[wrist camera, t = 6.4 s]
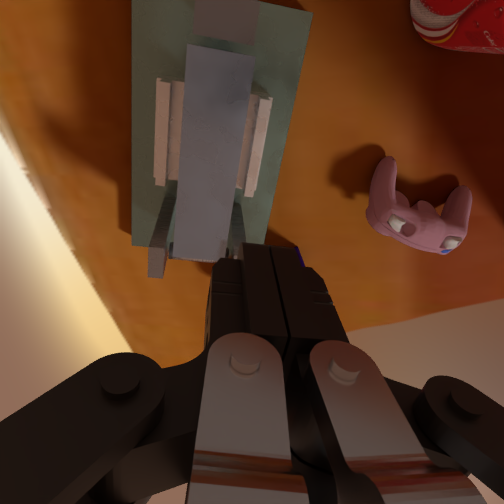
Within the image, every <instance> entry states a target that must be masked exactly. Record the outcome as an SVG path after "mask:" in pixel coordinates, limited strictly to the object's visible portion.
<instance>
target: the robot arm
mask: <svg viewBox="0 0 504 504" xmlns="http://www.w3.org/2000/svg"><path fill="white" fill-rule="evenodd" d="M204 337H205V338H204V351H203V352H202V353H201V354H200V355H199V356H197V357H196V358H195V359H193V360H191V361H189V362H187V363H184V364H181V365H177V366H172V367H167V368H163V369H161V367H160V366H159V365H158V364H157V363H156V362H155V361H154V360H152V359H151V358H149V357H147V356H144V355H141V354H137V353H130V352H124V353H115V354H111V355H107V356H105V357H102V358H100V359H98V360H96V361H94V362H93V363H91V364H89V365H88V366H86V367H85V368H83V369H82V370H80V371H79V372H77V373H76V374H74V375H72V376H71V377H69V378H68V379H66V380H65V381H63V382H61V383H60V384H58V385H57V386H55V387H54V388H52V389H51V390H49V391H47V392H46V393H44V394H43V395H41V396H40V397H38V398H37V399H35V400H34V401H32V402H30V403H29V404H27V405H26V406H24V407H23V408H21V409H20V410H18V411H17V412H15V413H13V414H12V415H10V416H9V417H7V418H5V419H4V420H2V421H1V422H0V504H146V503H147V502H148V501H149V499H150V498H151V496H152V495H154V494H157V493H160V492H162V491H165V490H168V489H171V488H174V487H176V486H179V485H182V484H185V483H188V484H187V491H186V498H185V504H487V503H486V501H485V499H484V498H483V497H482V495H481V493H480V492H479V491H478V489H477V487H476V486H475V485H474V484H473V483H472V481H471V480H470V479H469V478H467V477H468V476H469V475H470V474H471V473H472V474H473V475H474V476H475V477H476V478H478V479H479V480H480V481H481V482H483V483H484V484H485V485H486V486H487V487H489V488H490V489H491V490H492V491H493V492H495V493H496V494H497V495H498V496H500V497H501V498H502V499H503V500H504V407H502V406H501V405H499V404H498V403H497V402H495V401H494V400H492V399H491V398H489V397H488V396H486V395H485V394H483V393H482V392H480V391H479V390H477V389H476V388H474V387H473V386H471V385H470V384H468V383H466V382H464V381H462V380H459V379H457V378H453V377H449V376H434V377H432V378H430V379H429V380H428V381H427V382H426V384H425V385H424V387H423V389H422V390H421V389H418V388H415V387H412V386H409V385H406V384H403V383H400V382H397V381H394V380H391V379H388V378H386V377H384V376H382V374H381V372H380V371H379V369H378V367H377V366H376V364H375V362H374V361H373V360H372V359H371V357H370V356H368V355H367V354H366V353H365V352H364V351H362V350H361V349H359V348H358V347H356V346H353V345H351V344H350V343H349V340H348V338H347V336H346V333H345V331H344V328H343V326H342V323H341V321H340V319H339V316H338V314H337V311H336V309H335V306H333V302H332V299H331V297H330V295H328V290H327V287H326V285H325V282H324V280H323V279H322V278H321V277H320V276H319V275H318V274H317V273H316V272H315V271H314V270H313V269H312V268H311V267H302V266H301V263H300V260H299V257H298V254H297V251H296V249H295V248H290V247H282V246H273V245H264V244H256V243H248V242H241V243H240V246H239V251H238V256H237V259H230V258H222V257H221V258H220V259H219V260H218V261H217V262H216V264H215V265H214V266H213V267H212V274H211V280H210V287H209V294H208V301H207V308H206V319H205V336H204Z"/></svg>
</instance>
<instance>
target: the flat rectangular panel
mask: <svg viewBox="0 0 504 504" xmlns="http://www.w3.org/2000/svg"><path fill="white" fill-rule="evenodd" d="M255 59H256V57H255V56H252V55H247V54H241V53H236V52H231V51H226V50H220V49H215V48H210V47H205V46H200V45H194V44H189V43H188V44H187V54H186V69H185V83H184V98H183V113H182V127H181V142H180V157H179V171H178V186H177V200H176V215H175V230H174V242H170V246H169V257H168V258H169V259H177V260H188V261H198V262H209V263H216V262H217V261H218V260H219V259H220V258H221V257H222V258H229V248H226V246H227V240H228V233H229V227H230V221H231V214H232V208H233V201H234V195H235V188H236V182H237V175H238V169H239V162H240V156H241V150H242V143H243V137H244V130H245V124H246V117H247V111H248V104H249V98H250V91H251V85H252V79H253V72H254V66H255Z"/></svg>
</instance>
